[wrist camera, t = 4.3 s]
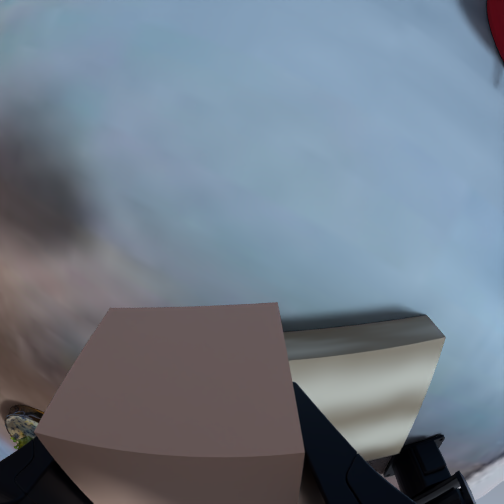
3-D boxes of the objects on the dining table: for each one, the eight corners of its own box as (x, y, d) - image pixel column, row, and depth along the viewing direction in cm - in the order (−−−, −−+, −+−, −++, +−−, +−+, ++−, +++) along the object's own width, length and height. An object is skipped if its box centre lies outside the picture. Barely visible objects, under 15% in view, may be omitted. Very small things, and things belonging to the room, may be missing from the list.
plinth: (389, 431, 26) (399, 453, 23) (248, 450, 26) (249, 476, 23) (426, 314, 21) (445, 337, 18) (236, 334, 21) (235, 364, 18)
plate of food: (-2, 414, 26) (-26, 454, 19) (33, 392, 24) (2, 444, 17) (67, 471, 30) (52, 512, 23) (117, 460, 27) (102, 513, 20)
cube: (278, 417, 11) (291, 536, 6) (147, 417, 11) (119, 527, 6) (277, 302, 9) (304, 452, 4) (110, 308, 9) (34, 431, 4)
